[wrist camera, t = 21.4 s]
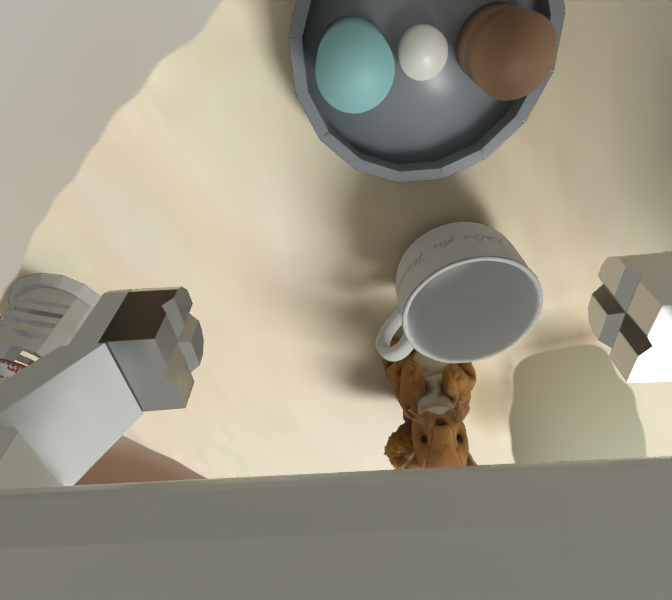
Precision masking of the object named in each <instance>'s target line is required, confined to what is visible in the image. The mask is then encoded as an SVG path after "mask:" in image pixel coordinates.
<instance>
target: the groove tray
mask: <svg viewBox="0 0 672 600" xmlns="http://www.w3.org/2000/svg"><path fill="white" fill-rule="evenodd" d="M491 2H506V3H509V4H513V5H516V6H519V7H522V8H525V9H528V10H532V11H535V12H538V13H540V14H542V15H544V16H545V17H546V18H547V19H548V20H549V21H550V22H551V23H552V25H553V27H554V29H555V31H556V35H557V41H558V46H559V41H560V36H561V30H562V25H563V20H564V15H565V11H563V10H565V5H564V0H297V1H296V5H295V10H294V14H293V19H292V23H291V28H290V32H289V46H290V54H291V61H292V69H293V77H294V84H295V92H296V96H297V98H298V100H299V102H300V104H301V105H302V107H303V109H304V111H305V113H306V115H307V117H308V119H309V120H310V122H311V124H312V126H313V128H314V130H315V132H316V133H317V135H318V137H319V139H321V141H322V142H323V143H324V144H326V145H327V146H328V147H329V148H330V149H332V150H333V151H334V152H335V153H336V154H337V155H339V156H340V157H341V158H342V159H343V160H345V161H346V162H347V163H348V164H349V165H351V166H352V167H353V168H354V169H355V168H356V170H359V171H362V172H365V173H369V174H372V175H375V176H378V177H382V178H385V179H388V180H391V181H394V182H397V181H398V182H409V181H421V180H434V179H442V177H443V178H445V177H447V176H450V175H452V174H454V173H456V172H458V171H460V170H463V169H465V168H467V167H469V166H471V165H473V164H476V163H478V162H480V161H482V160H484V159H486V158H485V156H486V157H487V158H488V157H489V156H490V155H491V154H492V153H493V152H494V151H495V150H496V149H497V148H498V147H499V146H500V145H501V144H502V143H504V142H505V141H506V140H507V139H508V138H509V137H510V136H511V135H512V134H513V133H514V132H515V131H516V130H517V129H518V128H520V127H521V126H522V125H523V124H524V121H526V120H527V118H528V116H529V115H530V113H531V111H532V109H533V107H534V106H535V104H536V102H537V100H538V98H539V97H540V95H541V93H542V91H543V89H544V88H545V86H546V84H547V82H548V80H549V79H550V77H551V75H552V73H553V72H552V71H553V70H554V67H555V62H556V59H555V62H554V65H553V67H552V69H551V71H550V73H549V74H548V76H547V77H546V79H545V80H544V81H543V82H542V84H541V85H540V86H539V87H537V88H536V89H535V90H534V91H532V92H531V93H530V94H528V95H526V96H524V97H522V98H519V99H515V100H509V101H504V100H498V99H495V98H492V97H490V96H489V95H487V94H486V93H485V92H484V91H483V90H482V89H481V88H480V87H479V86H478V85H477V84H476V83H475V82H474V81H473V80H472V79H470V78H469V77H468V76H467V75H466V74H465V73H464V72H463V70H462V69H461V67H460V66H459V63H458V61H457V57H456V42H457V38H458V34H459V32H460V29H461V27H462V25H463V24H464V22H465V21H466V19H467V18H468V17H469V16H470V15H471V14H472V13H473V12H474V11H475V10H476V9H478V8H479V7H481V6H483V5H485V4H488V3H491ZM349 15H357V16H361V17H364V18H367V19H368V20H370V21H371V22H373V23H374V24H375V25H376V26H377V27H378V29H379V30H380V32H381V33H382V35H383V37H384V38H385V40H386V42H387V44H388V45H389V47H390V49H391V52H392V55H393V58H394V65H395V72H394V79H393V83H392V86H391V88H390V90H389V92H388V94H387V95H386V97H385V98H384V99H383V100H382V101H381V102H380V103H379V104H378V105H377V106H376V107H374V108H372V109H370V110H368V111H366V112H362V113H346V112H342V111H340V110H338V109H336V108H334V107H333V106H331V105H330V104H329V103H328V102H327V101H326V100H325V98H324V97H323V96H322V94H321V92H320V90H319V88H318V85H317V81H316V73H315V68H316V59H317V52H318V46H319V42H320V39H321V37H322V35H323V33H324V31H325V30H326V29H327V27H328V26H329V25H330V24H331V23H332V22H334V21H335V20H337V19H339V18H341V17H344V16H349ZM557 51H558V48H557ZM556 56H557V55H556Z"/></svg>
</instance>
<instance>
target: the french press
mask: <svg viewBox="0 0 672 600" xmlns="http://www.w3.org/2000/svg"><path fill="white" fill-rule="evenodd" d="M100 298H101V297H100V296H99V295H98V294H97V293H95V292H94V291H93V290H91V289H90V288H89V287H87V286H86V285H85V284H82V283H80V282H77V281H75V280H72V279H70V278H68V277H65V276H62V275H54V274H46V273H39V274H34V275H29V276H25V277H22V278H21V279H20V280H19V281H17V282H16V283H15V284H14V285H13V286H12V287H11V290H10V294H9V299H8V302H9V305H10V307H9V308H8V309H7V310H6V312H5V313H4V314H2V315H1V317H0V383H1V382H3V381H4V380H6V379H8V378H9V377H11V376H12V375H14V374H16V373H17V372H19V371H20V370H22V369H24V368H25V367H27V366H25V365H22V364H19V363H16V362H14V361H15V360H17V361H20V362H22V363H25V364H27V365H30V364H32V363H33V362H35V361H33V360H31V359H29V358H27V357H24V356H22V355H20V353H21V352H22V350H23V351H26V352H28V353H30V354H33V355H35V356H36V357H38V358H41V357H43V356H45V355H46V354H48V353H50V352H51V351H53V350H54V349H56V348H58V347H59V346H66V345H69V344H70V342H71V341H72V339H73V338H74V336H75V335H76V333H77V332H78V330H79V329H80V327H81V326H82V325H83V323H84V322H85V320H86V319H87V317H88V316H89V314H90V313H91V311H92V310H93V308H94V307H95V305H96V304H97V302H98V301H99V300H100ZM10 308H11V310H9V309H10ZM3 315H4V319H3V320H1V318H2V316H3Z"/></svg>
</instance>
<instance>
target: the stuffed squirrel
mask: <svg viewBox="0 0 672 600" xmlns="http://www.w3.org/2000/svg"><path fill="white" fill-rule="evenodd" d="M398 342H399V340H396V339H393V338H392V339H391V342H390V346H389V347H392V346H394V345H395V344H397V343H398ZM382 358H383V357H382ZM383 363H384V366H385V371H386V375H387V376H388V378H389V380H390V381H391V384H392V386H393V389H394V392H395V395H396V397H397V399H398V401H399V403H400V405H401V407H402V409H403V419H404V420H405V423H404V424H402V425H400V427H398V430H397V431H396V432H393V433H392V434H391V436H390V437H389V440H388V443H387V445H386V446H385V449H384V450H385V453H384V454H385V455H387V456H388V457H389V460H390V462H391V465H393V466H394V467H397V468H395V469H396V470H398V469H418V468H438V467H458V466H478V465H477V464H476V463H475V461H474V460H473V458H472V456H471V454H470V453H469V452H468V451H469V448H468V439H467V435H466V429H465V425H464V423H463V422H462V421H463V420H464V419H465V417H466V416H467V414H468V413H469V410H470V407H468V406H469V402H470V398H471V390H472V389H473V387H474V385H475V383H476V373H475V370H474V368H473V366H472V364H471V362H469V363H446V362H440V361H437V360H434V359H432V358H429V357H427V356H425V355H423V354H421V353H420V352H418V351H417V350H416V349H415V348H414V349H413V350H412V351H411V352H410V354H409V355H407V356H406V357H405V358H403V359H402V360H399V361H396V362H394V361H388V360H386V359H384V358H383Z"/></svg>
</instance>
